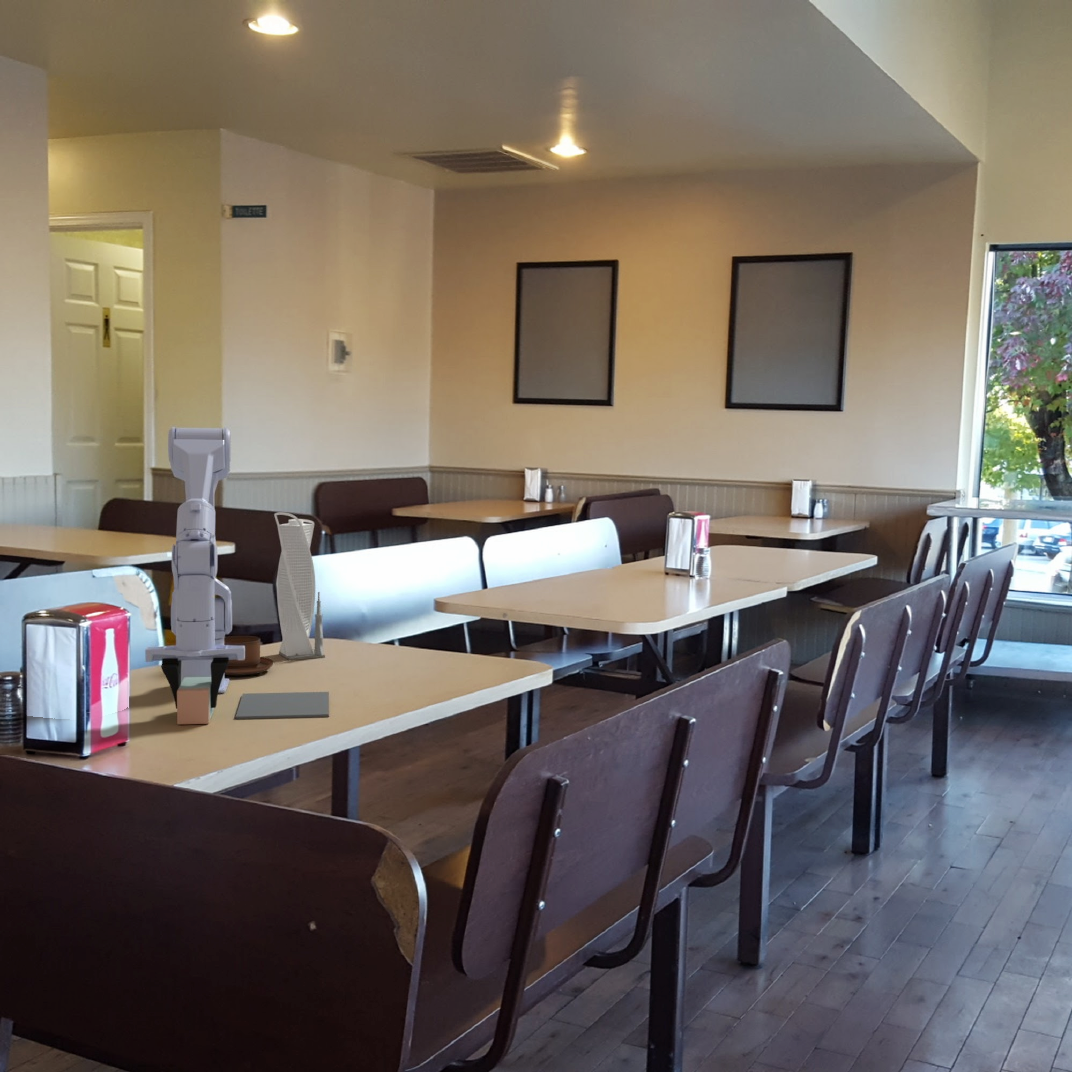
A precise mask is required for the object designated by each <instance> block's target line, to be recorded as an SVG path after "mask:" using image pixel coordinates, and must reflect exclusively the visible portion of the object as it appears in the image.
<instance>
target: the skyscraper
mask: <svg viewBox="0 0 1072 1072" xmlns="http://www.w3.org/2000/svg"><path fill="white" fill-rule="evenodd" d="M280 515H281V516H286V517H287V516H288V517H291V519H288V522H287V523H282V524H280V522H279V519H278V516H280ZM273 516H274V518H275V523H276V525H277V531H278V538H279V541H280V547H281V552H280V557H279V560H278V561H279V562H278V568H277V569H278V570H277V577H276V578H277V579H276V597H277V598H276V599H277V611H278V618H279V624H280V626H279V627H280V630H281V631H280V632H281V636H282V642H281V644H280V647H279V651H278V655H280V656H281V657H283V658H285V659H287V660H289V661H296V660H309V659H320V658H321V659H322V658H326V655H325V654H324V641H323V640H324V635H323V634H324V633H323V615H324V614H323V613H322V612H321V611H322V609H321V608H322V606H321V597H320V595H321V594H320V593H321V592H320V591H318V592H317V600H316V574H315V566H314V565H315V564H314V561H313V557H312V553H311V552H312V551H311V544H312V539H313V534H314V528H315V522H314V521H313V520H310V519H305V518H298V517H297V516H295V515H294V514H292V513H289V512H284V511H283V512H282V511H280V512H279V511H277V512H275V513H274V514H273ZM315 601H316V602H315ZM315 604H316V614H314V613H315V612H314V611H315ZM313 618H315V621H314V622H315V623H314V625H315V626H314V637H313V638H314V648H313V647H312V644H311V641H310V634H311V630H312V624H313Z"/></svg>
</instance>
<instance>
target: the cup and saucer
mask: <svg viewBox="0 0 1072 1072" xmlns="http://www.w3.org/2000/svg"><path fill="white" fill-rule="evenodd" d="M224 645H232V646H245V659H244V660H237V659H233V660H230V661H229V664H228V666H227V668H226V670H225V676H237V677H238V676H240V677H241V676H249V675H255V674H260V673H263V672H266V671H268V670H269V669H271V668H272V666H273V665H274V660H273V659H271V658H268V657H264V656H261V637H258V636H253V635H252V636H251V635H232V636H225V637H224Z"/></svg>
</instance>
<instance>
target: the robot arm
mask: <svg viewBox="0 0 1072 1072" xmlns="http://www.w3.org/2000/svg"><path fill="white" fill-rule="evenodd" d="M167 441H168V443H167V445H168V446H167V450H168V461H169V463H170V469H171V472H172V474H173V477H175V478H176V479H179V480H181V481H184V491H185V492H184V493H185V501H184V502H183V503H181V504H180V505H179V507H178V508H177V515H176V516H177V517H176V534H175V535H176V536H175V537H176V538H175V543H173V544H172V547H171V572H172V575H173V592H172V593H171V604H170V627H171V633H172V634H173V635H174V636H175V645H163V646H147V647H146V648H145V650H144V651H145V655H144V656H145V662H146V663H151V662H157V661H159V662H161V664H160V665H161V666H160V668H161V670H162V672H163V675H164V676H165V678H166V680H167V682H168V684H169V686H170V687H169V688H170V689H171V693H172V696H173V699H174V704H175V709H176V710H177V690H178V689H179V687H180V685H181V683H182V681H183V679H184V678H185V677H211V686H212V687H211V708H214V709H215V708H216V707H217V703H218V695H219V693H220V694H221V693H222V694H223V693H226V691H227V688H228V685H229V683H230V678H225V676H226V675H225V670H226V668H227V666H228V664H229V661H230V660H233V659H237V660H244V659H245V646H232V645H224V637H226V635H229V634H230V633H231V632H233V631H232V630H233V600H232V591H231V590H230V588H229V586H227V584H225V583H224V582H222V581H221V580H219V579H218V578H217V574H218V546H217V545H218V544H217V541H216V509H215V492H216V489H217V488H218V487H217V486H218V484H219V481H222V480H224V479H226V478H228V477H229V475H230V474H229V473H230V472H231V455H232V451H231V450H232V447H231V445H232V444H231V442H232V441H231V431H230V429H229V428H228V427H223V428H219V427H215V428H213V427H177V426H172V427H171V428H170V429H169V430H168V438H167ZM215 596H220V597H215Z"/></svg>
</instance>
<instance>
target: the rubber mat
mask: <svg viewBox="0 0 1072 1072" xmlns="http://www.w3.org/2000/svg"><path fill="white" fill-rule="evenodd" d="M329 695H330V692H329V691H306V692H305V691H304V692H302V691H301V692H295V691H294V692H261V693H260V692H256V693H242V696H241V699H240V701H239V705H238V708H237V711H236V714H235V720H249V719H251V720H253V719H256V720H257V719H291V718H292V719H294V718H296V719H297V718H298V719H299V718H301V719H302V718H327V717H330V697H329Z"/></svg>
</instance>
